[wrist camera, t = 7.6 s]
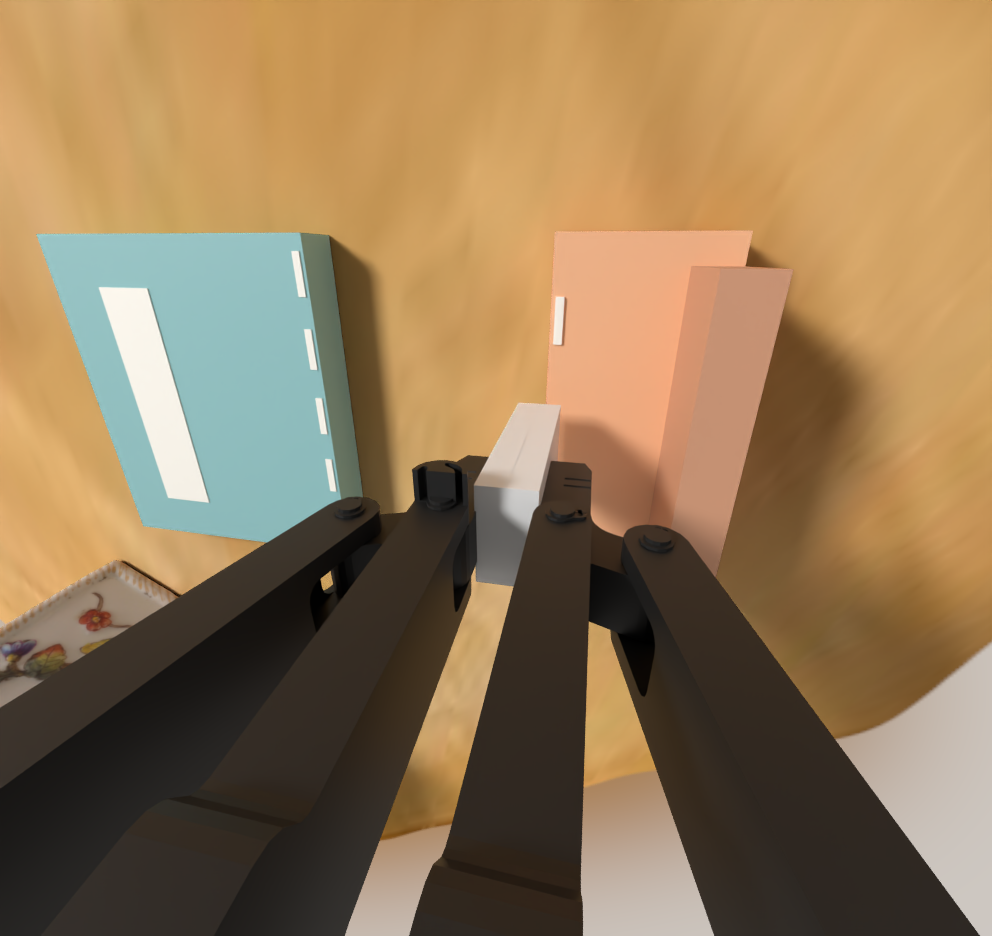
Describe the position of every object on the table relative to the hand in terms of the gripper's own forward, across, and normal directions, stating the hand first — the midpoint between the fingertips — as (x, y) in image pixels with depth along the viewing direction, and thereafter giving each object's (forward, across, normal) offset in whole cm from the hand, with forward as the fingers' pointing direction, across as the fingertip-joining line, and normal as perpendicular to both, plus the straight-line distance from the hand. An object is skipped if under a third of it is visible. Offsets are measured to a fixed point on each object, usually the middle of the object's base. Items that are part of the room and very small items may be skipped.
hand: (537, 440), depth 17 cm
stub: (+4, +3, 0) cm, 5 cm away
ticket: (+4, -15, 0) cm, 16 cm away
